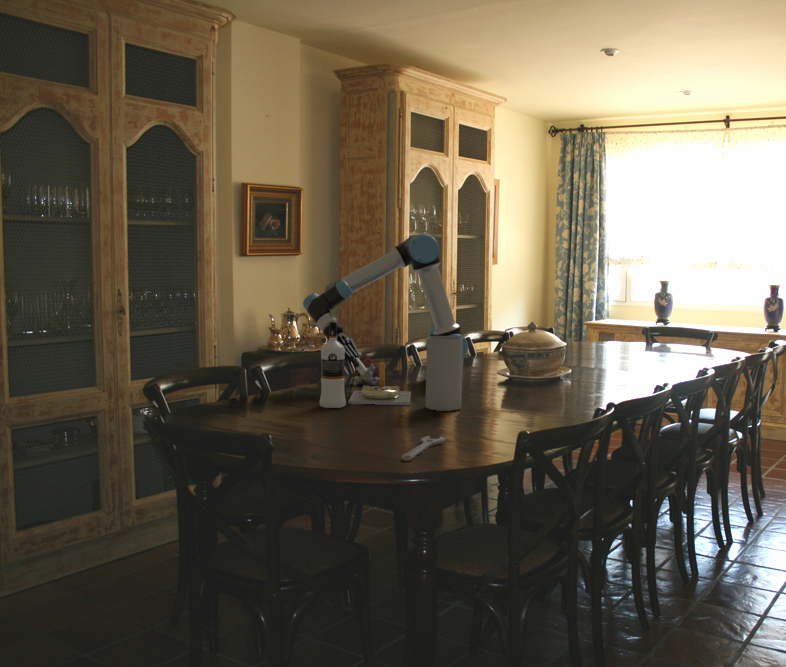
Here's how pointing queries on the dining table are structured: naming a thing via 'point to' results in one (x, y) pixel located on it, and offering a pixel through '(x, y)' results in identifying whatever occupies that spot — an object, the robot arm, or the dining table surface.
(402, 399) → the base plate
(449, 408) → the cylinder vase
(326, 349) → the vodka
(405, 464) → the dining table surface
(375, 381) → the brake caliper
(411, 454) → the adjustable wrench
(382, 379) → the cream rounded piece
